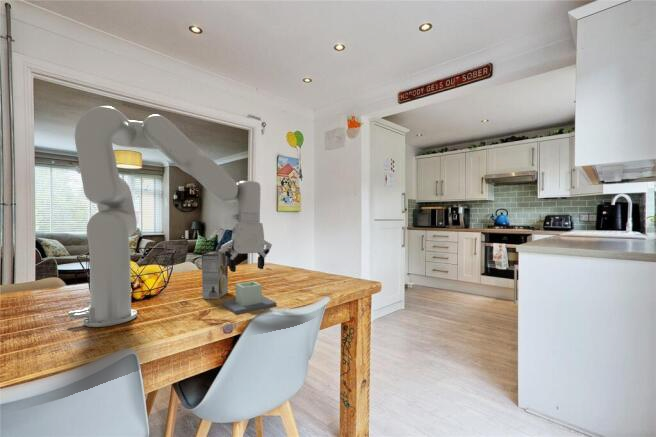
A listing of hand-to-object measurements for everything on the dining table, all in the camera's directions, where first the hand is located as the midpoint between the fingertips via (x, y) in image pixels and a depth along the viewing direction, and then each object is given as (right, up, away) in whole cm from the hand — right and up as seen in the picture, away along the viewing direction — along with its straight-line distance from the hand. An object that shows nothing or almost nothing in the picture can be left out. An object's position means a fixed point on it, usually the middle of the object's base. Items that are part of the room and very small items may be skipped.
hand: (247, 270), depth 101 cm
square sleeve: (0, -11, 0) cm, 11 cm away
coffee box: (-15, -12, +12) cm, 23 cm away
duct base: (+1, -12, 0) cm, 12 cm away
